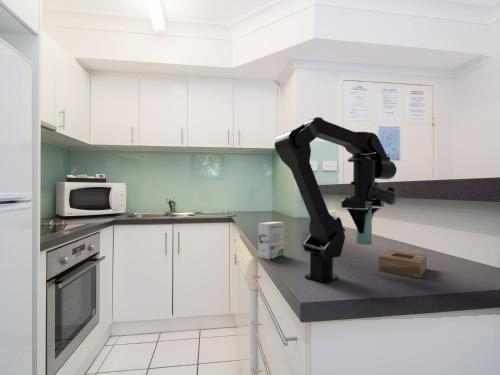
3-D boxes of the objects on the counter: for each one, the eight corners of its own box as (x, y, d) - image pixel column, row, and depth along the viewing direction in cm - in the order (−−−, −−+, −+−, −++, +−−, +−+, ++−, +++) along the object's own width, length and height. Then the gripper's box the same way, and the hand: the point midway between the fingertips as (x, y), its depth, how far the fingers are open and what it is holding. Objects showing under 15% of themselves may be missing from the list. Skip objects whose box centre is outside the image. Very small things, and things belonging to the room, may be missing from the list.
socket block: (420, 278, 66) (420, 263, 66) (378, 270, 73) (378, 256, 73) (426, 268, 75) (426, 255, 75) (389, 262, 82) (389, 249, 82)
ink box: (273, 253, 92) (273, 220, 92) (284, 255, 89) (284, 222, 89) (257, 257, 86) (257, 222, 86) (268, 260, 83) (268, 223, 83)
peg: (369, 245, 69) (369, 208, 70) (354, 243, 72) (354, 208, 72) (373, 243, 72) (373, 208, 73) (359, 241, 75) (359, 207, 75)
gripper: (386, 175, 60) (386, 240, 60) (403, 179, 74) (403, 232, 74) (340, 176, 68) (340, 235, 67) (363, 180, 82) (363, 228, 81)
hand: (363, 232), depth 72 cm, fingers closed on peg, 4 cm apart
